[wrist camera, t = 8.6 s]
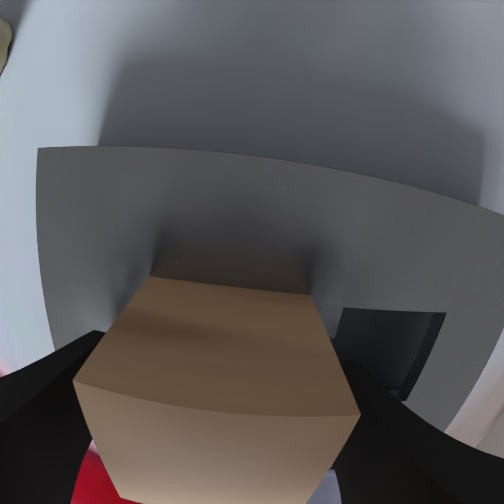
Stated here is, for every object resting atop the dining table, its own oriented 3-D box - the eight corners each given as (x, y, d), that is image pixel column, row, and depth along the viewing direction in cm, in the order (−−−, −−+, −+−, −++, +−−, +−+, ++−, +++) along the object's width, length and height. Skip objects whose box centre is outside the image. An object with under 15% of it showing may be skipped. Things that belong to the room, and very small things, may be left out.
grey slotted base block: (411, 395, 17) (437, 440, 12) (107, 375, 16) (79, 425, 11) (478, 208, 13) (534, 227, 9) (96, 148, 12) (37, 147, 8)
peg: (277, 370, 13) (295, 517, 6) (167, 357, 13) (120, 497, 6) (298, 268, 11) (361, 414, 4) (168, 253, 11) (71, 380, 4)
